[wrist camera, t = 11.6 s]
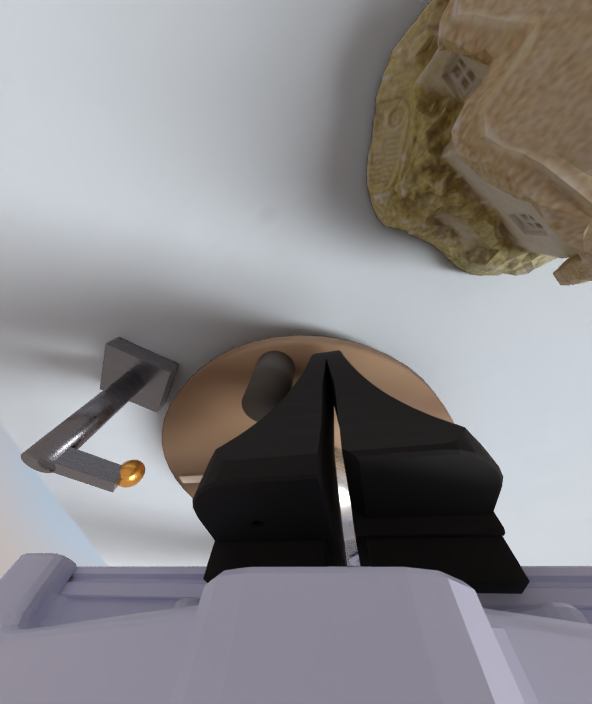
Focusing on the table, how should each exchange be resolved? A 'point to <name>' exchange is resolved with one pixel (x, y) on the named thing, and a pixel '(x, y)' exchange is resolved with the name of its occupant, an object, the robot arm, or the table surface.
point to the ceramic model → (490, 135)
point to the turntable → (267, 395)
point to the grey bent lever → (105, 418)
